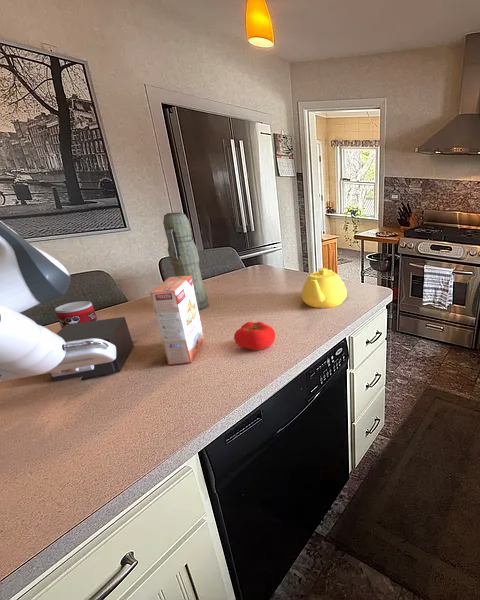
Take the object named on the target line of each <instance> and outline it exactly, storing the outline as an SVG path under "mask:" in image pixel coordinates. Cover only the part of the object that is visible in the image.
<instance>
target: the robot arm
mask: <svg viewBox="0 0 480 600" xmlns="http://www.w3.org/2000/svg"><path fill="white" fill-rule="evenodd" d="M20 235H21V234H19V233H17V232H16V231H15V230H13V229H12V228H11V227H9V226H8V225H7V224H6V223H4V222H3V221H2V220H0V383H1V382H7V381H11V380H18V379H23V378H28V377H34V376H39V375H40V376H41V375H44V374H45V375H46V374H50V373H60V374H65V373H70V372H76V371H79V367H85V366H90V365H96V364H102V363H107V362H112V361H114V360H115V359H116V346H115V345H113V344H111V343H109V342H107V341H105V340H102V339H97V338H92V339H84V340H77V341H70V342H65V341H64V340H63V338H61V337H60V336H58V335H57V333H55V332H54V331H52V330H50V329H49V328H47V327H45V326H43V325H40V324H37V323H36V322H35V321H34V320H33V319H31V318H30V317H28V316H26V315H24V314H23V312H25V311H27V310H30V309H31V308H34V307H35V306H37V305H40V304H44V303H47V302H49V301H52V300H54V299H57V298H60V297H63V296H65V294H66V292H67V291H68V289H69V287H70V285H71V280H72V277H71V275H70V273H69V271H68V270H67V268H66V267H65V265H63V264H62V262H60V261H59V260H57V259H56V258H55V257H53V256H52V255H50V253H47V252H45V251H43V250H42V249H40V248H39V247H36V246H34V245H33V244H31V243H30V242H29V241H28V240H26V239H25V238H23V237H22V236H20Z"/></svg>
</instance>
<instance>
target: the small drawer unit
mask: <svg viewBox="0 0 480 600" xmlns="http://www.w3.org/2000/svg"><path fill="white" fill-rule="evenodd" d="M56 334H57V335H58V336H60V337H61V338H63V340H64V341H65V342H70V341H77V340H84V339H92V338H97V339H102V340H105V341H107V342H109V343H111V344H113V345H115V346H116V359H115V360H114V361H113V364H114V366H115V369H116V370H115V372H113V373H112V374H115V373H119V372H121V371H122V369H123V368H124V366H125V363H126V362H127V359H128V358H129V357H130V355H131V353H132V351H133V349H134V347H135V345H134V342H133V338H132V336H131V332H130V329H129V327H128V323H127V320H126V317H125V316H121V317H113V318H107V319H106V318H105V319H97V321H90V322H82V323H75V324H67V325H65V326H64V327H63V328H61V329H60V330H59V331H58V332H56ZM110 374H111V373H108V374H107V375H110ZM104 375H106V374H102V375H97V376H96V377H98V376H104ZM94 377H95V376H92V377H91V378H94ZM80 378H81V380H83V379H88V378H90V377H86V378H82V377H80Z"/></svg>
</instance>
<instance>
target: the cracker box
mask: <svg viewBox="0 0 480 600" xmlns="http://www.w3.org/2000/svg"><path fill="white" fill-rule="evenodd" d="M149 295H150V299H151V303H152V306H153V311H154V315H155V318H156V322H157V326H158V329H159V333H160V334H159V335H160V337H161V338H160V339H161V342H162V345H163V349H164V353H165V358H166V362H167V364H168V366H174V365H183V364H190V363H193V360H194V359H195V357H196V355H197V353H198V351H199V350H200V348H201V346H202V345H203V343H204V341H205V337H204V333H203V326H202V322H201V317H200V313H199V310H198V307H197V302H196V297H195V292H194V287H193V283H192V277H191V276H179V277H176V276H169V277H167V278H166V279H165V280H164V281H162V282H161V283H160V284H158V286H156V287H155V288H154V289H152V290H151V291H149Z"/></svg>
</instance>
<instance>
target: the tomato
mask: <svg viewBox="0 0 480 600" xmlns="http://www.w3.org/2000/svg"><path fill="white" fill-rule="evenodd" d="M233 339H234V342H235V344H236V345H237V346H238V347H240V348H243V349H248V350H253V351H261V350H264V349H267V348H269V347H271V346H272V345H273V344H274V341H275V339H276V331H275V329H274V328H273V327H272V326H270V325H269V324H267V323H264V322H262V321H257V322H254V321H247V322H246V323H243V324H242V325H241V327H240V328H239V329H237V330H236V331H235V333H234V335H233Z"/></svg>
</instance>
